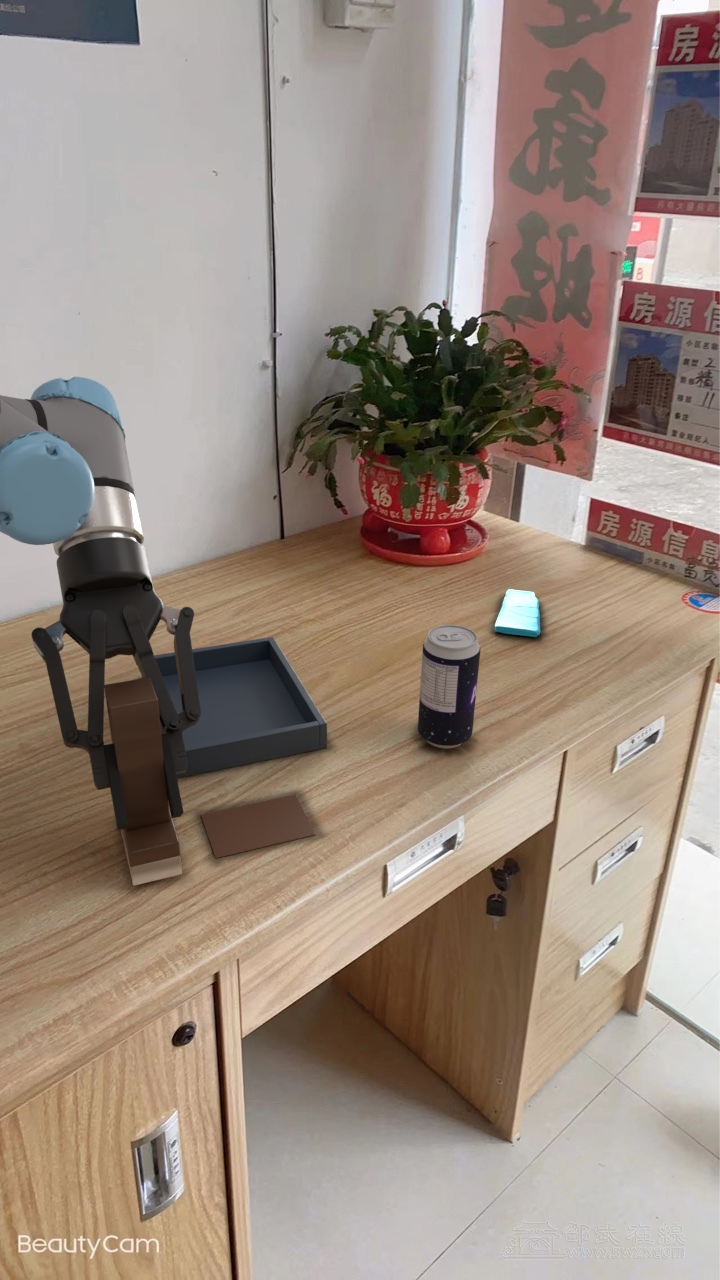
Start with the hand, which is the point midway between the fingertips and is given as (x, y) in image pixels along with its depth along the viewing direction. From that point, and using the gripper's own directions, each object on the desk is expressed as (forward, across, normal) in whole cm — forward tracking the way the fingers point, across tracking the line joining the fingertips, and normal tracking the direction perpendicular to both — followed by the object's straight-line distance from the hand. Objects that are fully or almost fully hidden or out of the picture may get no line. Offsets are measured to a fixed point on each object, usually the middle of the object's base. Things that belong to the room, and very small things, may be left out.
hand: (150, 820), depth 70 cm
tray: (-12, -12, -20) cm, 26 cm away
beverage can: (-3, -32, -12) cm, 34 cm away
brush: (+1, 0, -7) cm, 7 cm away
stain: (+2, -10, -7) cm, 12 cm away
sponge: (-19, -54, -28) cm, 63 cm away
